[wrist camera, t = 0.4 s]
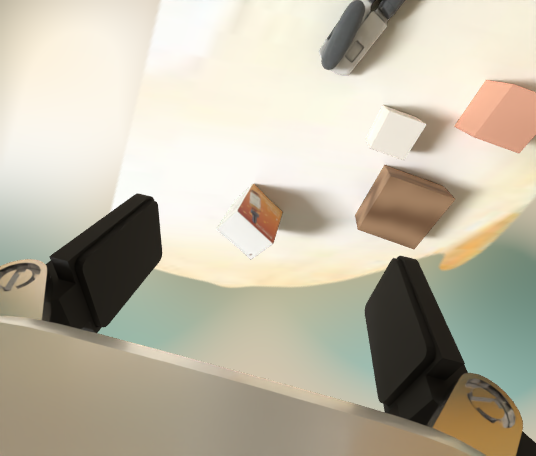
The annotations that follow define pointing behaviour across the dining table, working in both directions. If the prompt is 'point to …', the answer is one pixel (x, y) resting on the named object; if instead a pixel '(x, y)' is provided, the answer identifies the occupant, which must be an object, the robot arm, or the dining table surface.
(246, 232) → the small box
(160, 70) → the dining table surface
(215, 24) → the dining table surface
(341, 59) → the can opener
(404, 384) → the robot arm
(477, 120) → the terracotta cube
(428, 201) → the walnut base block
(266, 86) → the dining table surface
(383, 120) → the pale grey cube
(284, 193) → the dining table surface
